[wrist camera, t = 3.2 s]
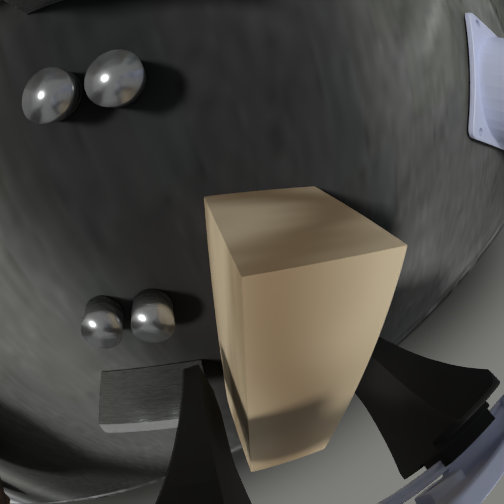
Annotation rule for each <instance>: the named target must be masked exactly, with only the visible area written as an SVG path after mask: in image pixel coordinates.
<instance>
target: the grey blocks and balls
mask: <svg viewBox="0 0 504 504" xmlns="http://www.w3.org/2000/svg"><path fill="white" fill-rule="evenodd" d="M3 1H5V2H7V3H9V4H10V5H12V6H14V7H16V8H17V9H19V10H21V11H22V12H24V13H26V14H29V13H31V12H34V11H36V10H39V9H41V8H44V7H46V6H49V5H52V4H54V3H57V2H60V1H63V0H3ZM145 85H146V73H145V70H144V68H143V66H142V64H141V62H140V60H139V59H138V57H137V56H136V55H134V54H133V53H131V52H129V51H126V50H112V51H108V52H106V53H104V54H102V55H100V56H99V57H98V58H97V59H95V60H94V61H93V63H92V64H91V65H90V67H89V68H88V70H87V72H86V75H85V80H84V86H85V91H86V94H87V96H88V97H89V99H90V100H91V101H92V102H94V103H95V104H97V105H100V106H104V107H113V108H119V107H124V106H127V105H129V104H131V103H133V102H134V101H135V100H136V99H137V98H138V97H139V96H140V95H141V94H142V92H143V90H144V88H145ZM82 95H83V87H82V83H81V81H80V79H79V78H78V77H77V76H76V75H75V74H73V73H70V72H68V71H65V70H62V69H60V68H56V67H49V68H45V69H43V70H41V71H39V72H38V73H36V74H35V75H34V76H33V77H32V78H31V79H30V81H29V82H28V84H27V85H26V87H25V90H24V92H23V97H22V108H23V111H24V114H25V116H26V117H27V118H28V119H29V120H30V121H32V122H34V123H37V124H44V123H50V122H57V121H62V120H64V119H66V118H68V117H70V116H71V115H72V114H73V113H74V112H75V111H76V109H77V108H78V106H79V104H80V102H81V99H82ZM123 320H124V311H123V308H122V306H121V305H120V304H119V303H118V302H117V301H116V300H114V299H112V298H110V297H107V296H97V297H94V298H92V299H90V300H89V302H88V303H87V306H86V309H85V313H84V317H83V321H82V325H81V333H82V335H83V337H84V338H85V340H86V341H87V342H89V343H90V344H92V345H94V346H96V347H99V348H112V347H115V346H116V345H118V344H119V343H120V341H121V339H122V331H123ZM131 330H132V332H133V333H134V335H135V336H136V337H138V338H139V339H141V340H143V341H146V342H151V343H156V342H162V341H164V340H166V339H168V338H169V337H170V336H171V335H172V334H173V332H174V330H175V323H174V314H173V305H172V301H171V299H170V297H169V296H168V295H167V294H166V293H164V292H162V291H160V290H156V289H147V290H143V291H141V292H139V293H138V294H137V295H136V296H135V297H134V299H133V302H132V313H131ZM198 364H199V366H200V368H201V370H202V371H203V367H202V362H201V360H196V361H190V362H184V363H177V364H170V365H163V366H156V367H148V368H139V369H130V370H119V371H108V372H101V384H100V399H99V426H100V427H101V428H102V429H103V430H104V431H105V432H106V433H112V432H134V431H147V430H158V429H167V428H176V427H178V421H179V413H180V405H181V395H182V371H183V370H184V369H185V368H189V367H192V366H195V365H198ZM203 373H204V371H203Z"/></svg>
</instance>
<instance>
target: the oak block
mask: <svg viewBox="0 0 504 504" xmlns="http://www.w3.org/2000/svg"><path fill="white" fill-rule="evenodd" d="M204 204H205V216H206V228H207V239H208V250H209V260H210V270H211V279H212V288H213V297H214V306H215V314H216V322H217V330H218V337H219V345H220V352H221V359H222V366H223V373H224V380H225V386H226V393H227V399H228V403H229V407H230V410H231V413H232V416H233V420H234V423H235V426H236V429H237V432H238V435H239V438H240V441H241V444H242V447H243V450H244V452H245V456H246V458H247V461H248V464H249V467H250V470H251V472H253V471H257V470H261V469H265V468H268V467H272V466H275V465H279V464H282V463H285V462H288V461H292V460H295V459H298V458H301V457H303V456H306V455H309V454H312V453H314V452H317V451H320V450H322V449H324V448H325V447H326V445H327V443H328V441H329V440H330V438H331V436H332V434H333V433H334V431H335V429H336V427H337V426H338V424H339V422H340V420H341V418H342V416H343V414H344V413H345V411H346V409H347V407H348V405H349V403H350V401H351V399H352V397H353V395H354V393H355V391H356V389H357V386H358V384H359V382H360V380H361V378H362V376H363V373H364V371H365V369H366V367H367V364H368V362H369V360H370V357H371V355H372V352H373V350H374V347H375V345H376V342H377V340H378V337H379V335H380V332H381V329H382V327H383V324H384V321H385V318H386V316H387V313H388V310H389V307H390V304H391V301H392V298H393V295H394V292H395V288H396V285H397V282H398V278H399V275H400V272H401V268H402V264H403V261H404V257H405V253H406V249H407V245H406V244H405V243H404V242H402V241H401V240H399V239H398V238H396V237H395V236H393V235H392V234H390V233H389V232H387V231H386V230H384V229H383V228H381V227H380V226H378V225H377V224H375V223H374V222H372V221H371V220H369V219H368V218H366V217H364V216H363V215H361V214H360V213H358V212H357V211H355V210H353V209H352V208H350V207H348V206H347V205H345V204H344V203H342V202H340V201H339V200H337V199H335V198H334V197H332V196H330V195H329V194H327V193H325V192H323V191H322V190H320V189H318V188H316V187H300V188H286V189H274V190H263V191H252V192H242V193H233V194H223V195H215V196H207V197H204Z"/></svg>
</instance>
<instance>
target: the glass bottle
mask: <svg viewBox="0 0 504 504" xmlns="http://www.w3.org/2000/svg"><path fill="white" fill-rule="evenodd" d="M0 504H5V495H4V489H3V485H2V482H1V479H0Z"/></svg>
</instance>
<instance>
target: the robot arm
mask: <svg viewBox="0 0 504 504" xmlns="http://www.w3.org/2000/svg"><path fill="white" fill-rule="evenodd" d="M465 21H466V28H467V37H468V47H469V63H470V109H469V125H468V132H469V135H470V137H471V138H473V139H476V140H479V141H481V142H484V143H487V144H490V145H492V146H495V147H497V148H500V149H502V150H504V38H498V37H497V36H496V35H495V34H494V33H493V32H492V31H491V30H490V29H489V28H488V27H487V26H486V25H485V24H483V23H482V22H481V21H480V20H479V19H478V18H477V17H476V16H475V15H473V14H472V13H466V14H465ZM499 384H500V381H499V380H498V379H497V378H496V377H495V376H494V375H493V374H492V373H491V372H490V371H489V370H488V369H476V368H467V367H461V366H455V365H451V364H447V363H443V362H439V361H435V360H431V359H428V358H426V357H422V356H420V355H417V354H414V353H412V352H409V351H407V350H405V349H403V348H401V347H399V346H397V345H394V344H392V343H390V342H388V341H386V340H385V339H383V338H381V337H378V340H377V342H376V345H375V347H374V350H373V352H372V355H371V357H370V360H369V362H368V364H367V367H366V369H365V371H364V373H363V376H362V378H361V380H360V382H359V384H358V386H357V389H356V391H355V393H356V395H357V396H358V397H359V399H360V400H361V401H362V403H363V404H364V405H365V407H366V408H367V410H368V412H369V413H370V415H371V416H372V418H373V420H374V422H375V423H376V425H377V427H378V429H379V431H380V432H381V434H382V436H383V438H384V440H385V442H386V443H387V446H388V448H389V450H390V452H391V454H392V456H393V458H394V460H395V463H396V465H397V467H398V470H399V472H400V474H401V475H402V477H403V478H404V479H406V478H408V477H409V476H411V475H412V474H414V473H415V472H417V471H418V470H419V469H421V468H422V467H423V466H425V467H426V469H427V470H426V471H425V472H424V473H423V474H421V475H420V476H418V477H417V478H416V479H414V480H413V481H412V482H410V483H409V484H407V485H406V486H404V487H403V488H401V489H400V490H398V491H397V492H395V493H394V494H392V495H391V496H389V497H388V498H386V499H384V500H383V501H381V502H379V503H378V504H403V503H404V502H406V501H407V500H409V499H410V498H411V497H413V496H414V495H416V494H417V493H419V492H420V491H421V490H423V489H424V488H425V487H426V486H428V485H429V484H431V483H432V482H433V481H434V480H436V479H437V478H438V477H439V476H440V475H442V474H443V477H442V478H441V479H440V480H438V481H437V482H435V483H434V484H432V485H431V486H429V487H428V488H427V489H425V490H424V491H423V492H422V493H421V494H419V495H418V496H417V497H416V498H415V501H416V504H481V503H482V502H483V500H484V499H485V498H486V497H487V495H488V494H489V493H490V491H491V490H492V489H493V488H494V486H495V485H496V484H497V482H498V481H499V479H500V478H501V477H502V475H503V473H504V395H503V396H502V397H501V398H500V399H499V400H498V401H497V402H496V404H495V405H494V406H493V407H492V408H491V409H490V410H488V409H487V408H488V407H489V404H488V403H487V402H486V400H487V399H488V398H489V397H490V395H491V394H492V393H493V392H494V391H495V389H496V388H497V387H498V385H499ZM155 504H251V501H250V499H249V497H248V495H247V493H246V490H245V488H244V486H243V484H242V481H241V479H240V477H239V474H238V472H237V469H236V467H235V464H234V461H233V458H232V454H231V450H230V447H229V443H228V439H227V435H226V431H225V427H224V423H223V419H222V415H221V411H220V408H219V405H218V403H217V400H216V397H215V394H214V391H213V389H212V388H211V386H210V384H209V382H208V380H207V379H206V377H205V375H204V373H203V371H202V370H201V368H200V366H199V364H198V365H195V366H192V367H189V368H185V369H184V370H183V371H182V395H181V405H180V413H179V421H178V427H177V432H176V438H175V443H174V448H173V452H172V456H171V460H170V464H169V467H168V470H167V474H166V477H165V480H164V483H163V486H162V489H161V491H160V494H159V496H158V499H157V501H156V503H155Z"/></svg>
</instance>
